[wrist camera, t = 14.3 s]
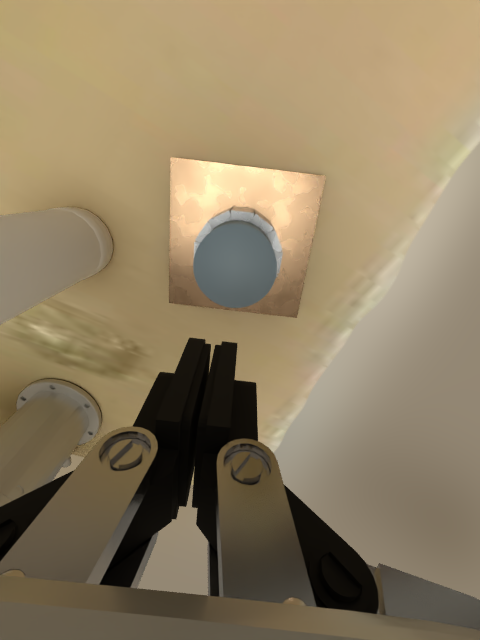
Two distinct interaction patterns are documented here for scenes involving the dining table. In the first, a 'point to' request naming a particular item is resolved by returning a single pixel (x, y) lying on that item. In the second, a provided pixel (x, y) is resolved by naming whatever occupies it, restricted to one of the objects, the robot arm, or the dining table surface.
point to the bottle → (48, 255)
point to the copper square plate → (247, 205)
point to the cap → (235, 264)
